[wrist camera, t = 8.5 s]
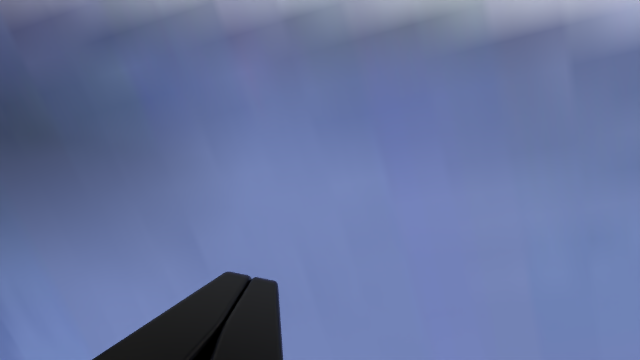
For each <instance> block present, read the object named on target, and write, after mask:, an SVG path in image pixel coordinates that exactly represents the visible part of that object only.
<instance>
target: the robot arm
mask: <svg viewBox="0 0 640 360" xmlns="http://www.w3.org/2000/svg"><path fill="white" fill-rule="evenodd" d="M92 360H283V350H282V336H281V321H280V307H279V293H278V284H277V282H276V281H272V280H268V279H263V278H258V277H255V278H253V279H251V277H250V276H248V275H244V274H239V273H234V272H225V273H223V274H222V275H220V276H219V277H217V278H216V279H214V280H213V281H211V282H210V283H208V284H207V285H205V286H203V287H202V288H200V289H199V290H197V291H196V292H194V293H193V294H191V295H190V296H188V297H187V298H185V299H184V300H182V301H181V302H179V303H178V304H176V305H175V306H173V307H171V308H170V309H168V310H167V311H165V312H164V313H162V314H161V315H159V316H158V317H156V318H155V319H153V320H152V321H150V322H149V323H147V324H146V325H144V326H143V327H141V328H140V329H138V330H136V331H135V332H133V333H132V334H130V335H129V336H127V337H126V338H124V339H123V340H121V341H120V342H118V343H117V344H115V345H114V346H112V347H111V348H109V349H108V350H106V351H104V352H103V353H101V354H100V355H98V356H97V357H95V358H94V359H92Z"/></svg>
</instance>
